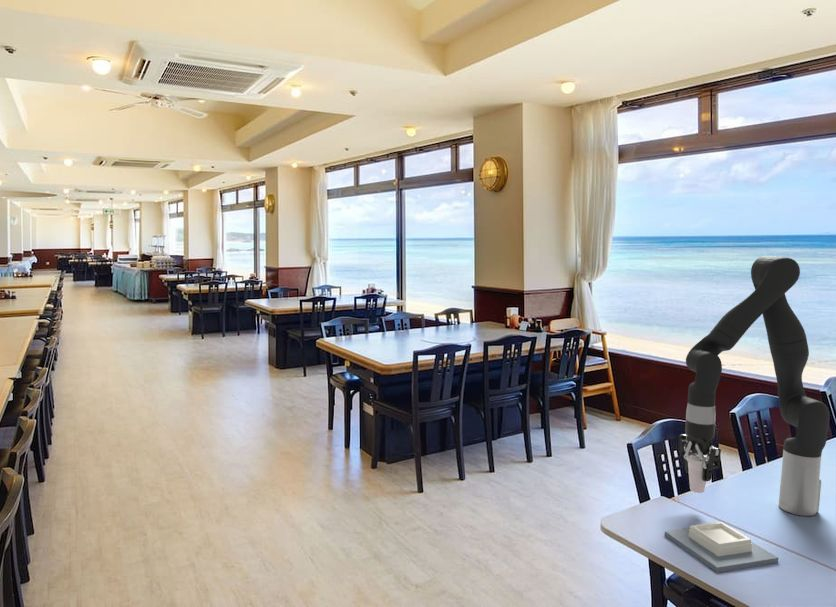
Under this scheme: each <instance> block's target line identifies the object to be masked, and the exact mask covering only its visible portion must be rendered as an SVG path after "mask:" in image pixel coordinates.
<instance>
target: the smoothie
mask: <svg viewBox="0 0 836 607" xmlns="http://www.w3.org/2000/svg"><path fill="white" fill-rule="evenodd" d="M704 457H707V455H704ZM687 461H688V471H689V473H688V480H689V481H688V482H689V489H690V491H691V492H693V493H699V494H702V493H705V491H706V490H705V488H706V483H707V481H706V482H705V481H703V480H702V476H703V468H704V467H703V464H702V461H701V460H700V459H699V455H697V454H690V455H687ZM706 462H707V464H708V463H709V461H707V460H706Z"/></svg>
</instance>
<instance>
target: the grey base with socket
mask: <svg viewBox="0 0 836 607" xmlns="http://www.w3.org/2000/svg"><path fill="white" fill-rule="evenodd" d="M664 537H665V538H667V539H669V540H670V541H672V542H673V543H675V544H676V545H677V546H679V547H680V548H682V549H683V550H685V551H686V552H687V553H689V554H690V555H691V556H693V557H694V558H695V559H697V560H699V561H700V562H702V563H703V564H704V565H705V566H707V567H709V568H710V569H711V570H713V571H714V572H716V573H721V572H727V571H735V570H741V569H746V568H753V567H759V566H765V565H772V564H777V563H779V557H778V556H776V555H775V554H773V553H771V552H769V551H768V550H767V549H765V548H763V547H761V546H760V545H758V544H756V543H755V542H753V541H752V539H751V538H750V537H748V536H746V535H745V534H743V533H741V532H739V531H738V530H736V529H735V528H733V527H731V526H730V525H728V524H726V523H724V522H722V521H716V522H708V523H700V524H694V525H690V526H689V527H686V528H685V527H684V528H678V529H669V530H664Z"/></svg>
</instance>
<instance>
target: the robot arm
mask: <svg viewBox="0 0 836 607" xmlns="http://www.w3.org/2000/svg"><path fill="white" fill-rule="evenodd" d="M800 273H801V268H800V265H799V263H798V262H797V261H796V260H795V259H793V258H790V257H788V256H787V257H786V256H775V255H764V256H763V255H762V256H760V257H758V258H756V260H755V261H754V262H753V263H752V265H751V268H750V277H751V281H752V284H753V287H754V289H755V290H754V291H753V292H752V293H751V294H750V295H749V296H747V297H746V298H745V299H744V300H743V301H741V302H739V303H738V304H737V305H735V306H733V307H732V308H731V309H730V310H728V311H727V312H726V313H725V314H724V315H723V316H722V317H721V318H720V320H719V321H718V322H717V323H716V324H715V326H714V327H713V328H712V329H711V330H710V332H709V333H708V334H707V335H706V336H704V337H703V338H702V339H701V340H700V341H698V342H697V343H696V344H695V345H693V347H691V348H690V350H689V351H688V353H687V355H686V358H685V365H686V367H687V368H688V369H689V370H690V371H692V372H694V373H695V377H694V378H695V379H694V381H693V382H691V383H690V384H689V385H688V388H687V389H688V390H687V392H688V393H687V404H686V405H687V406H686V411H685V431H684V432H685V433H683V434H679V435H678V440H679V441H678V442H679V443H678V444H679V445H678V446H679V455H680V456H683V458H684V470H685V472H686V473H688V474H689V471H688V461H687V455H690V454H697V455H699V459H700V460H701V461H702V464H703V467H704V468H703V476H702V480H703V481H705V482H706V483H707V482H710V481H711V480H712V478H713V477H712V475H713V473H712V472H713V471H712V470H713V469H719V467H720V466H719V465H720V458H721V452H722V450H721V448H720V447H715V446H714V445H713V441H712V440H713V439H714V438H715V434H716V433H715V432H716V417H717V416H716V391H717V389H718V386H719V382H720V379H721V376H722V372H723V364H722V361H721V358H720V356H719V355H720V354H721V353H723V352H726V351H730V350H732V349H733V348H735V346H736V345H737V343H738V342H739V341H740V340H741V339H742V337H743V336H744V335H745V334H746V332H747V331H748V330H749V329H750V327H752V325H753V324H754V323H755V322H756V321H757V320H758V319H759V318H760V317H761V316H762V318H763V321H764V327H765V330H766V335H767V341H768V345H769V346H768V347H769V351H770V355H771V358H772V361H773V367H774V368H773V369H774V372H775V373H774V374H775V378H776V383H777V384H776V385H777V393H778V405H779V412H780V415H781V417H782V419H783V421H785V422H786V423H787V424H789V425H791V426H793V427H796V434H795V437H788V438H785V439H784V441H783V450H782V461H781V462H782V465H781V474H780V485H779V494H778V495H779V496H778V507H779V508H780V509H781V510H783V511H784V512H788V513H790V514H793V515H796V516H802V517H812V516H816V514H817V513H819V511H820V500H821V499H820V498H821V490H822V480H821V478H820V476H821V464H822V463H821V462H822V456H823V455H822V454H823V450H824V448H825V447H826V443H827V438H828V434H829V433H828V432H829V426H830V420H831V419H830V416H831V415H830V410H829V408H828V406H827V405H826V404H825V403H824V402H822V401H821V400H820V401H819V400H817V399H814V398H811V397H809V396H808V397H807V395H806V391H805V388H804V384H803V373H804V369H805V368H806V364H807V363H808V360H809V356H810V351H809V344H808V340H807V335H806V331H805V328H804V326H803V325H802V323H801V321H800V320H799V318H798V317H797V315H796V314H795V312H794V311H793V309H792V308H791V306H790V304H789V302H788V299H787V297H786V296H787V295H786V293H787V292H788V291H789V290H790V289H791V288H792V287H793V286H795V285H796V283H797V282H798V280H799V279H800V278H799V277H800ZM704 455H705V456H707V457H704ZM706 460H707V461H709V463H708V464H707V462H706Z"/></svg>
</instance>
